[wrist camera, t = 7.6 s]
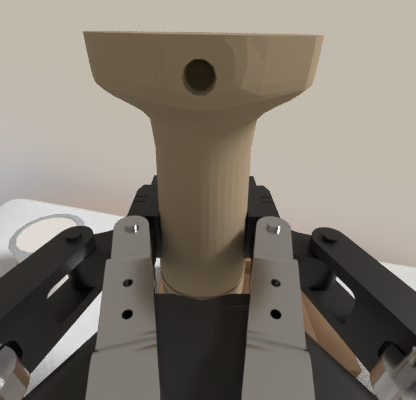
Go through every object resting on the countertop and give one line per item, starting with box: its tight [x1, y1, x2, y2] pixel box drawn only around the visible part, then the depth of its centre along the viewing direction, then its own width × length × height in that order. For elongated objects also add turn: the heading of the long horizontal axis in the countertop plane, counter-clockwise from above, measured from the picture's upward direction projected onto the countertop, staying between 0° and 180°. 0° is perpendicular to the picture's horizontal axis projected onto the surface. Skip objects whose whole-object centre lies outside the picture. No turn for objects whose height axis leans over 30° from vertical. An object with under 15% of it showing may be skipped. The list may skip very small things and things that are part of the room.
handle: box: [83, 31, 324, 300], centre depth 12 cm, size 5×6×15 cm
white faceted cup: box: [8, 214, 85, 298], centre depth 28 cm, size 7×7×7 cm
